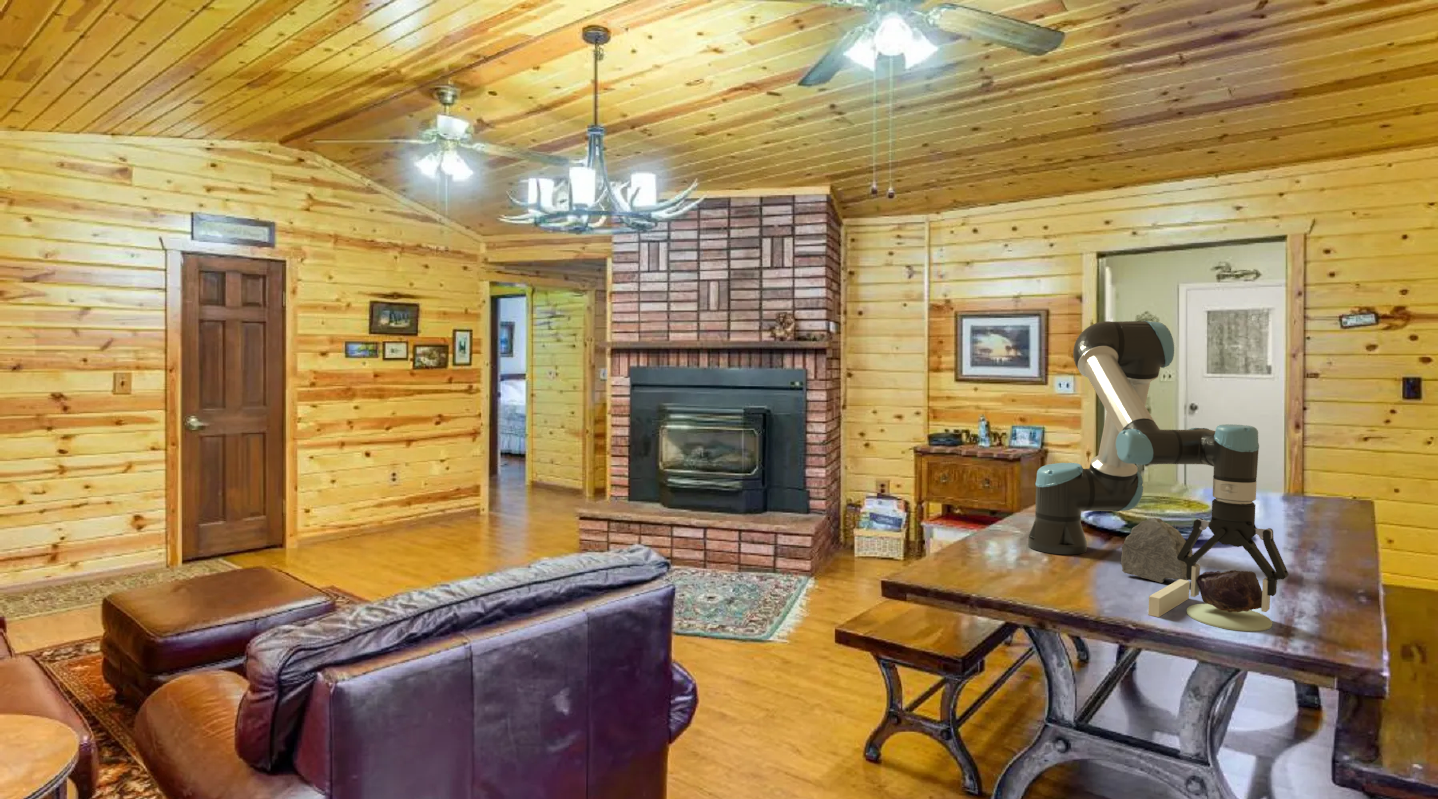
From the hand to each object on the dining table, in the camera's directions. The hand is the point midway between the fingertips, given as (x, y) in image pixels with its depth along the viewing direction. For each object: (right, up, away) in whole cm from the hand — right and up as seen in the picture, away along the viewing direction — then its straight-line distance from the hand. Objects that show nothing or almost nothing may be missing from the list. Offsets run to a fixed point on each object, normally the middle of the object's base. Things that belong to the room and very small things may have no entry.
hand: (1229, 602), depth 167 cm
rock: (0, -2, 0) cm, 2 cm away
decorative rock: (0, -2, +27) cm, 27 cm away
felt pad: (0, -3, 0) cm, 3 cm away
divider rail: (-8, -3, +8) cm, 12 cm away
